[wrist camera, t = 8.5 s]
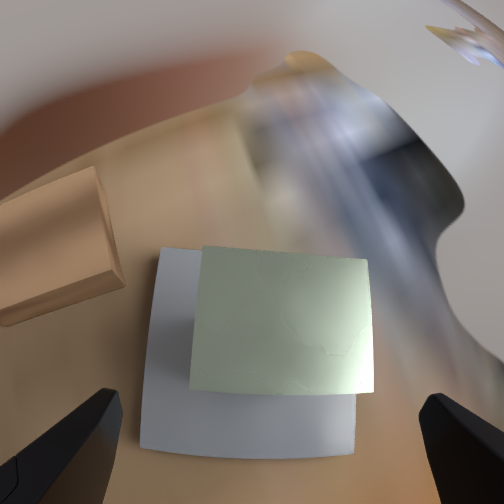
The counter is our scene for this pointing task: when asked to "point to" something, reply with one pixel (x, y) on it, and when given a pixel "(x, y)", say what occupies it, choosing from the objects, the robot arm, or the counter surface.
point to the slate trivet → (224, 404)
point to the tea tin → (281, 324)
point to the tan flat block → (56, 248)
